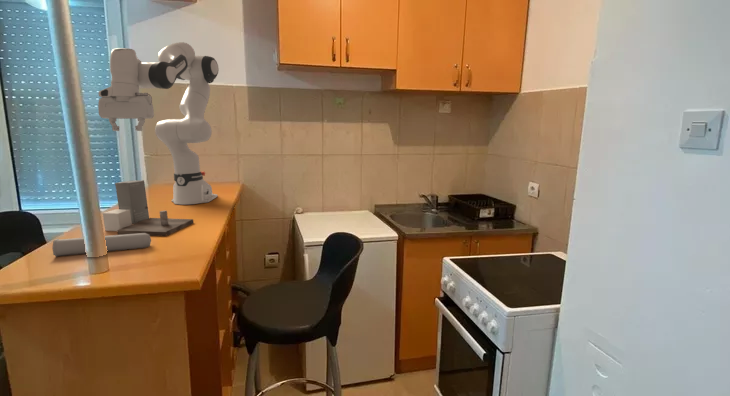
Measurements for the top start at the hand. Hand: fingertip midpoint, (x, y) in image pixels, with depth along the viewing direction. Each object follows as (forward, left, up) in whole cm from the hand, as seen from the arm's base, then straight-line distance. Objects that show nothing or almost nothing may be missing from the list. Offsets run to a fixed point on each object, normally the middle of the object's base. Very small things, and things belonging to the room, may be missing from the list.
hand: (127, 130), depth 146 cm
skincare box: (0, -2, -35) cm, 35 cm away
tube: (+33, +14, -35) cm, 50 cm away
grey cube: (+11, 0, -35) cm, 36 cm away
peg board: (+9, +14, -35) cm, 39 cm away
